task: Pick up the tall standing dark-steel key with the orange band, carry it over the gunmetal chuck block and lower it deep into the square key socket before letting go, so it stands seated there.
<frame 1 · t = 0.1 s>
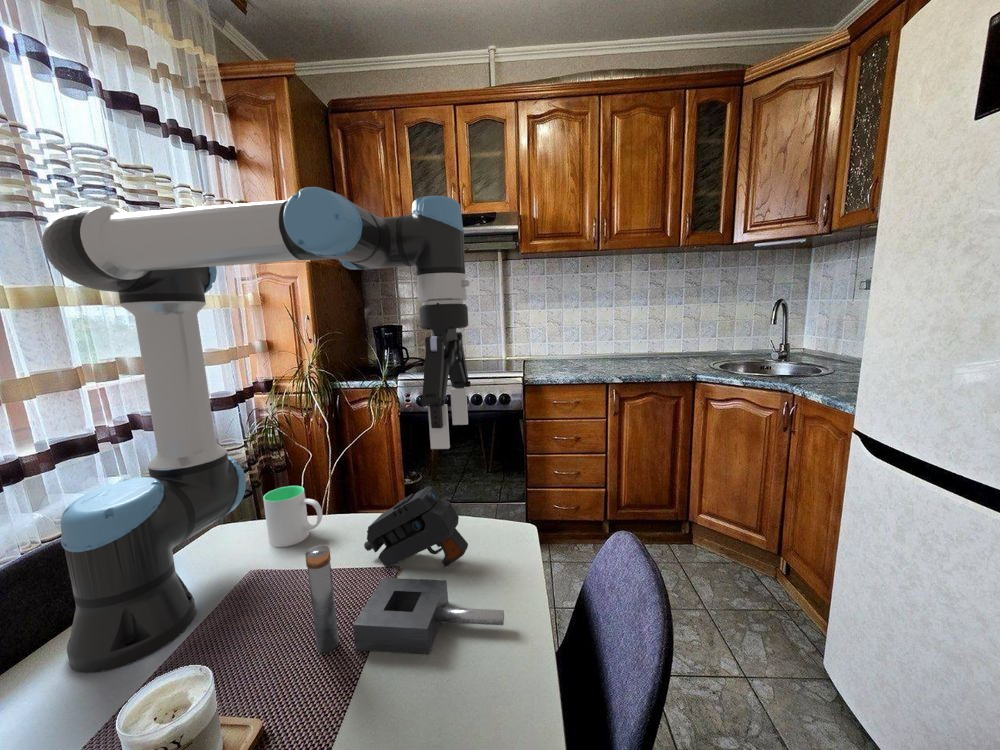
hand: (451, 435, 69), 28 cm above the table, fingers open, 13 cm apart
mug: (298, 538, 94), on the table
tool: (415, 562, 83), on the table
key: (328, 645, 62), on the table
chuck: (405, 624, 66), on the table
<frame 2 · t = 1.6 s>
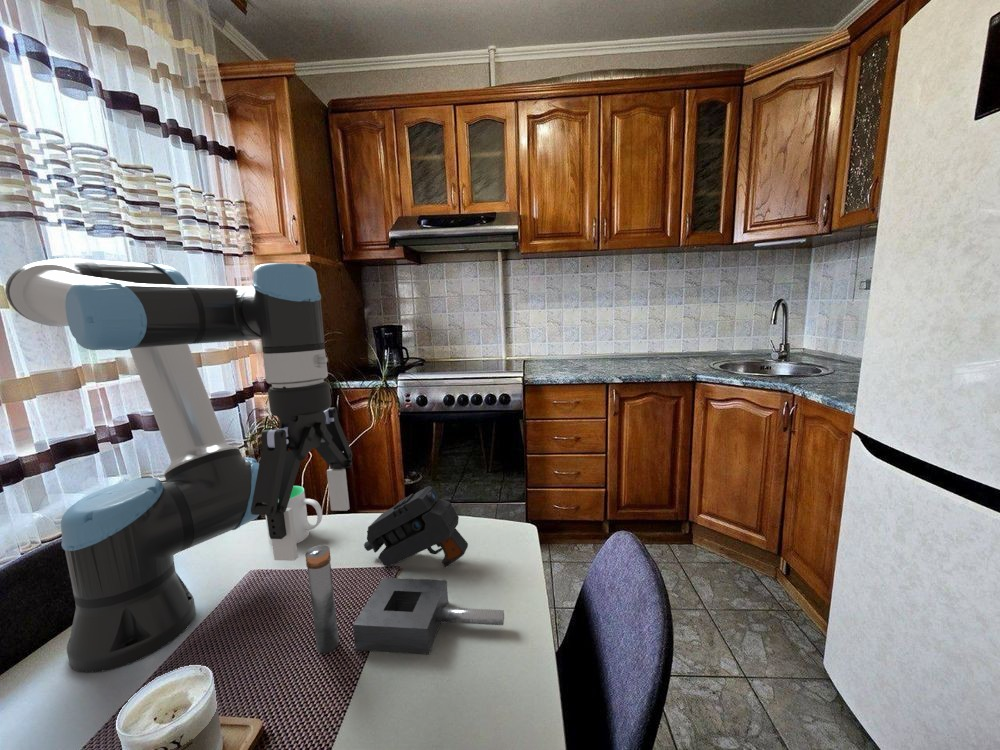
hand: (316, 531, 60), 18 cm above the table, fingers open, 13 cm apart
nothing on the table moved.
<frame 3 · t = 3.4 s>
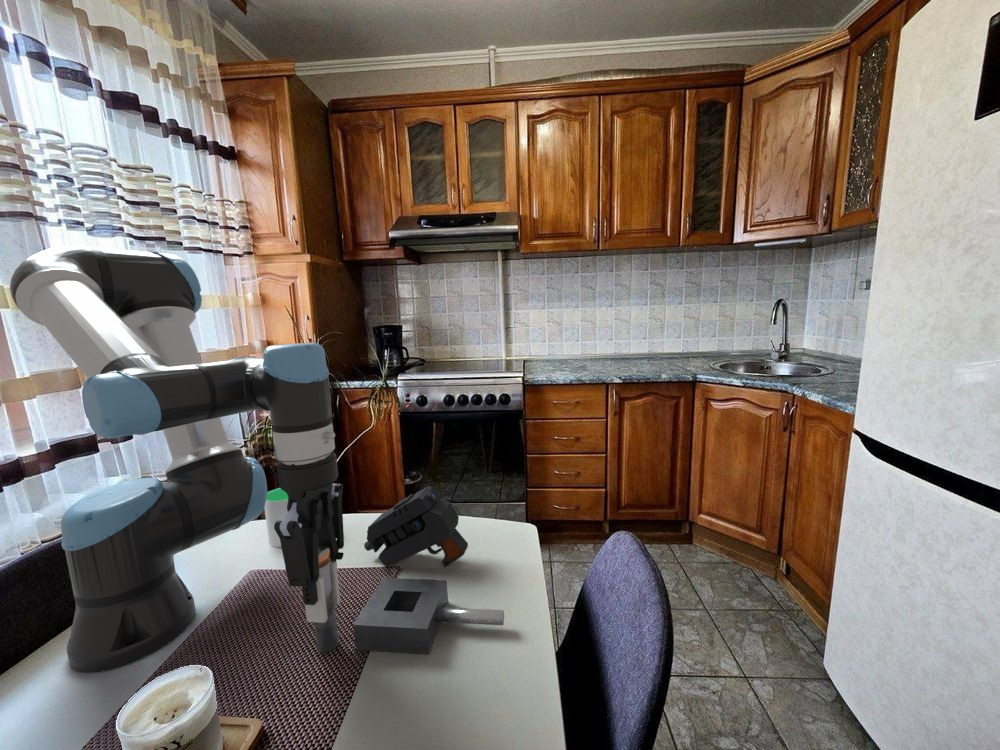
hand: (324, 611, 62), 6 cm above the table, fingers closed on key, 3 cm apart
key: (328, 645, 62), on the table, touching gripper
everything else where it was.
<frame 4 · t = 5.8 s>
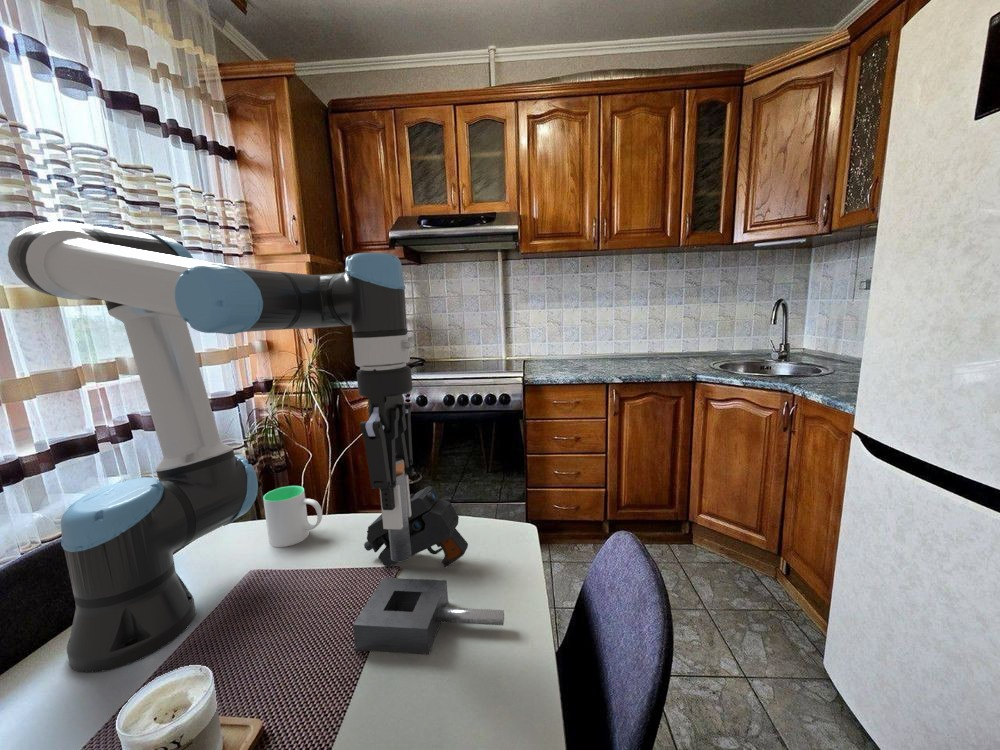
hand: (397, 521, 63), 17 cm above the table, fingers closed on key, 3 cm apart
key: (401, 556, 64), point 11 cm above the table, touching gripper
everything else where it was.
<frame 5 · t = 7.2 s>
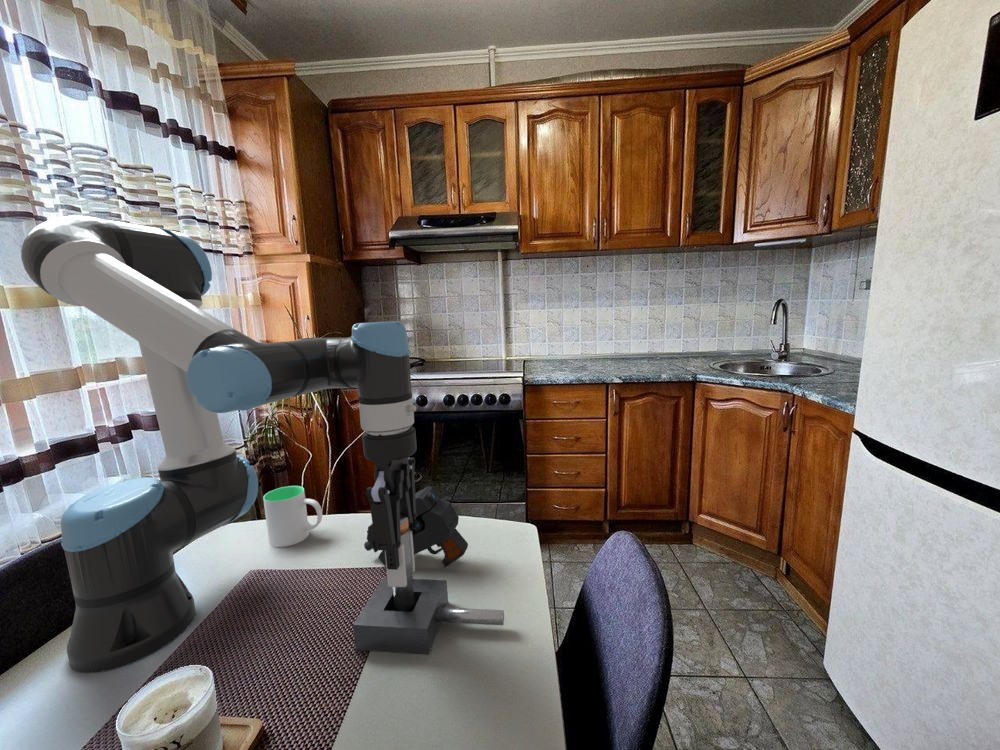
hand: (402, 577, 65), 8 cm above the table, fingers closed on key, 3 cm apart
key: (405, 610, 66), point 2 cm above the table, touching gripper
everything else where it was.
when the fingers open (6 cm above the table, at t = 8.4 s): key stays where it is, resting in chuck.
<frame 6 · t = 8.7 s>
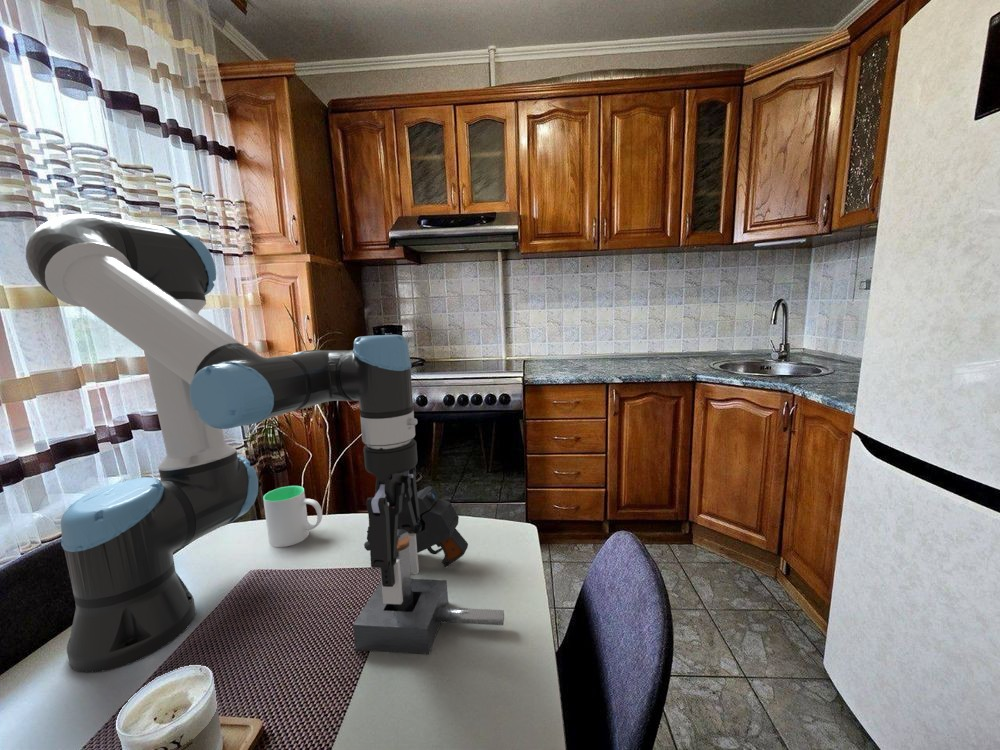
hand: (401, 586, 65), 6 cm above the table, fingers open, 7 cm apart
key: (405, 624, 66), resting in chuck
everything else where it was.
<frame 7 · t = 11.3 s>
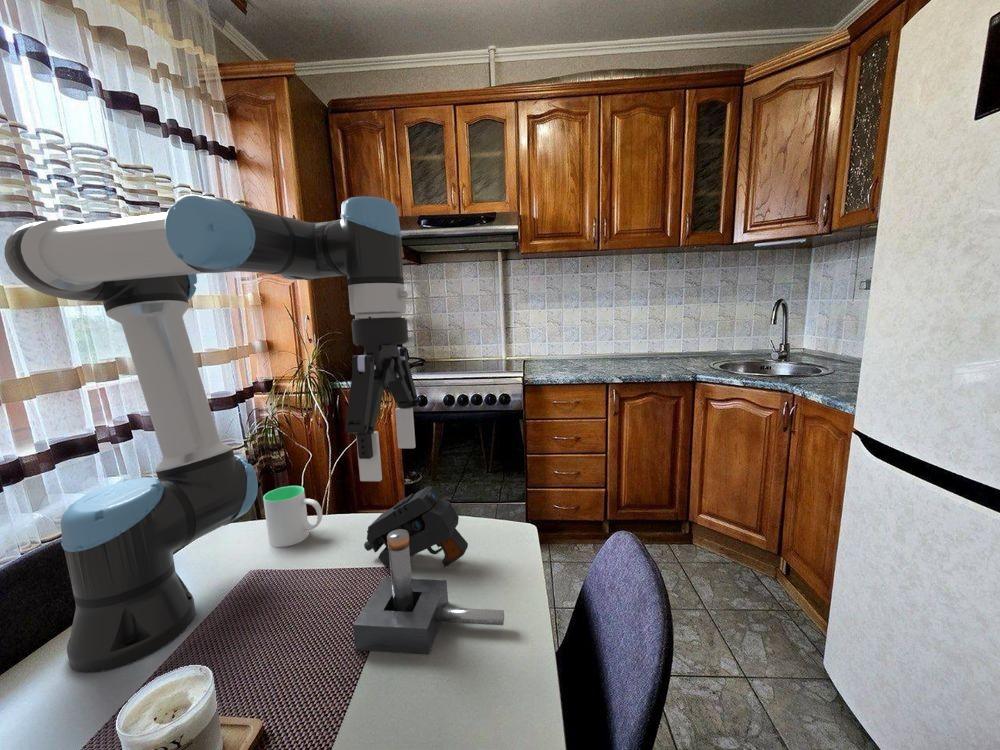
hand: (391, 462, 62), 26 cm above the table, fingers open, 13 cm apart
nothing on the table moved.
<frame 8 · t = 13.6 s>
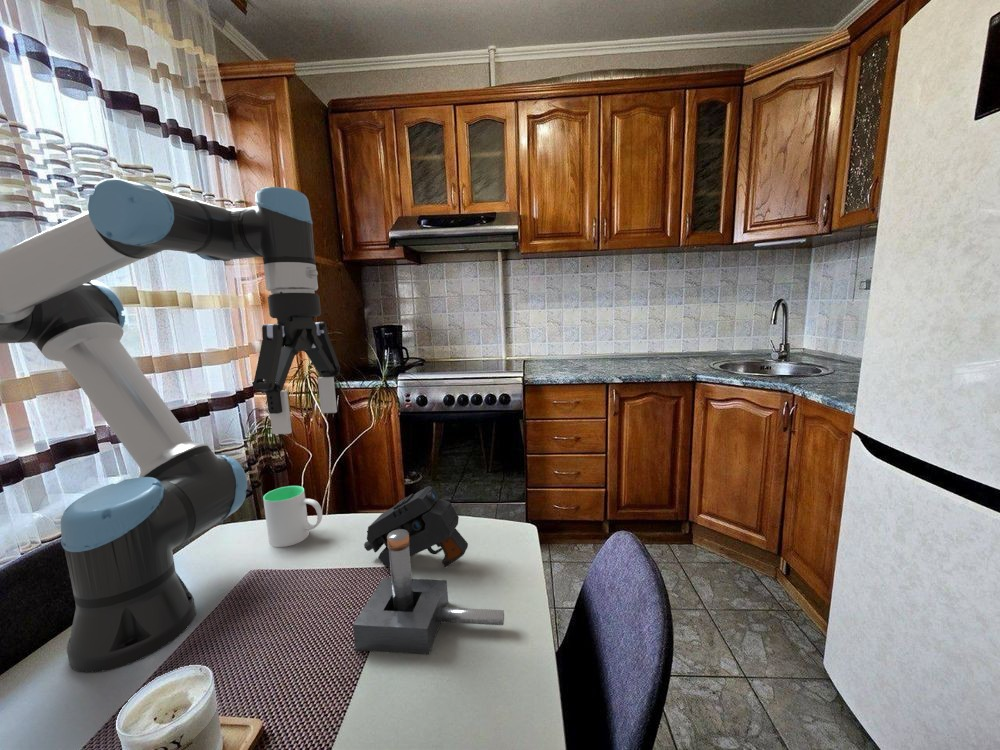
hand: (307, 422, 71), 31 cm above the table, fingers open, 13 cm apart
nothing on the table moved.
at the end: key 0.0 cm off-centre on the chuck, point 0.0 cm above the chuck's base; key tilted 0°; the gripper is holding nothing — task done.
